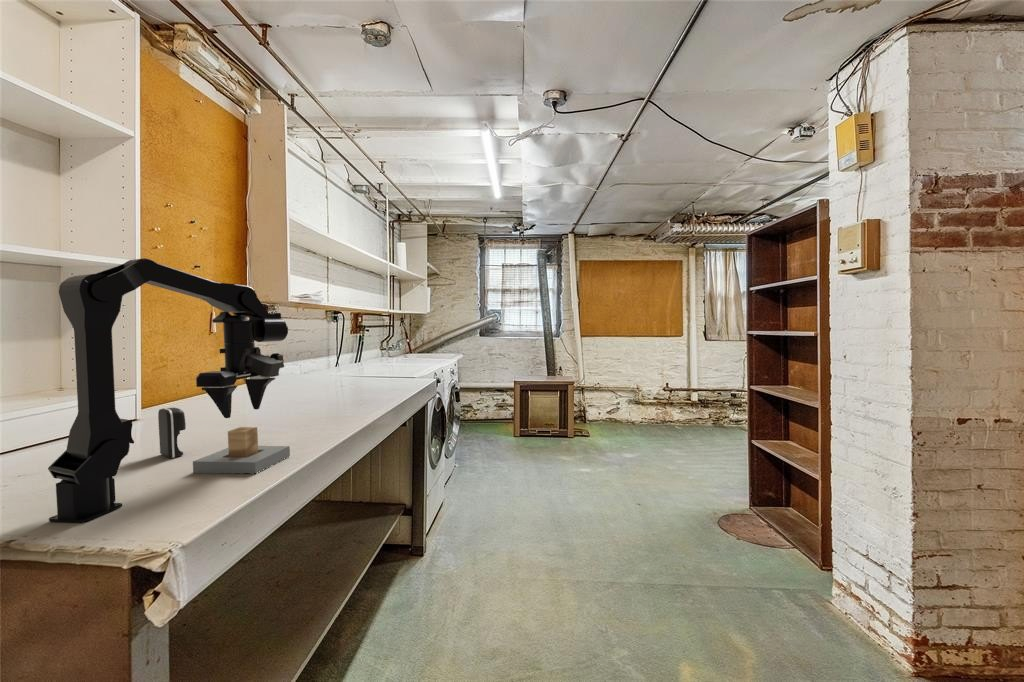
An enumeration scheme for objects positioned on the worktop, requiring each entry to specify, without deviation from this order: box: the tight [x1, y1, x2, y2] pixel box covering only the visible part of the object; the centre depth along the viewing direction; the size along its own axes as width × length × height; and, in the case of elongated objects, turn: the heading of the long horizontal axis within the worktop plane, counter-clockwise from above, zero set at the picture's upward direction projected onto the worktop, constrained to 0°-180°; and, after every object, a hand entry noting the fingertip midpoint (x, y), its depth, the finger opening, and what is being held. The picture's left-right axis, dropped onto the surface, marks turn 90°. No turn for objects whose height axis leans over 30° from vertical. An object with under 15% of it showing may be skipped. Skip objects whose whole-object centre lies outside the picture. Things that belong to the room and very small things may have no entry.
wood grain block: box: [227, 426, 259, 458], centre depth 98 cm, size 4×4×8 cm
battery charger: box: [157, 407, 187, 459], centre depth 106 cm, size 7×4×11 cm, turn 54°
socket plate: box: [192, 445, 291, 474], centre depth 98 cm, size 12×14×2 cm
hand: (242, 413), depth 98 cm, fingers open, 9 cm apart
